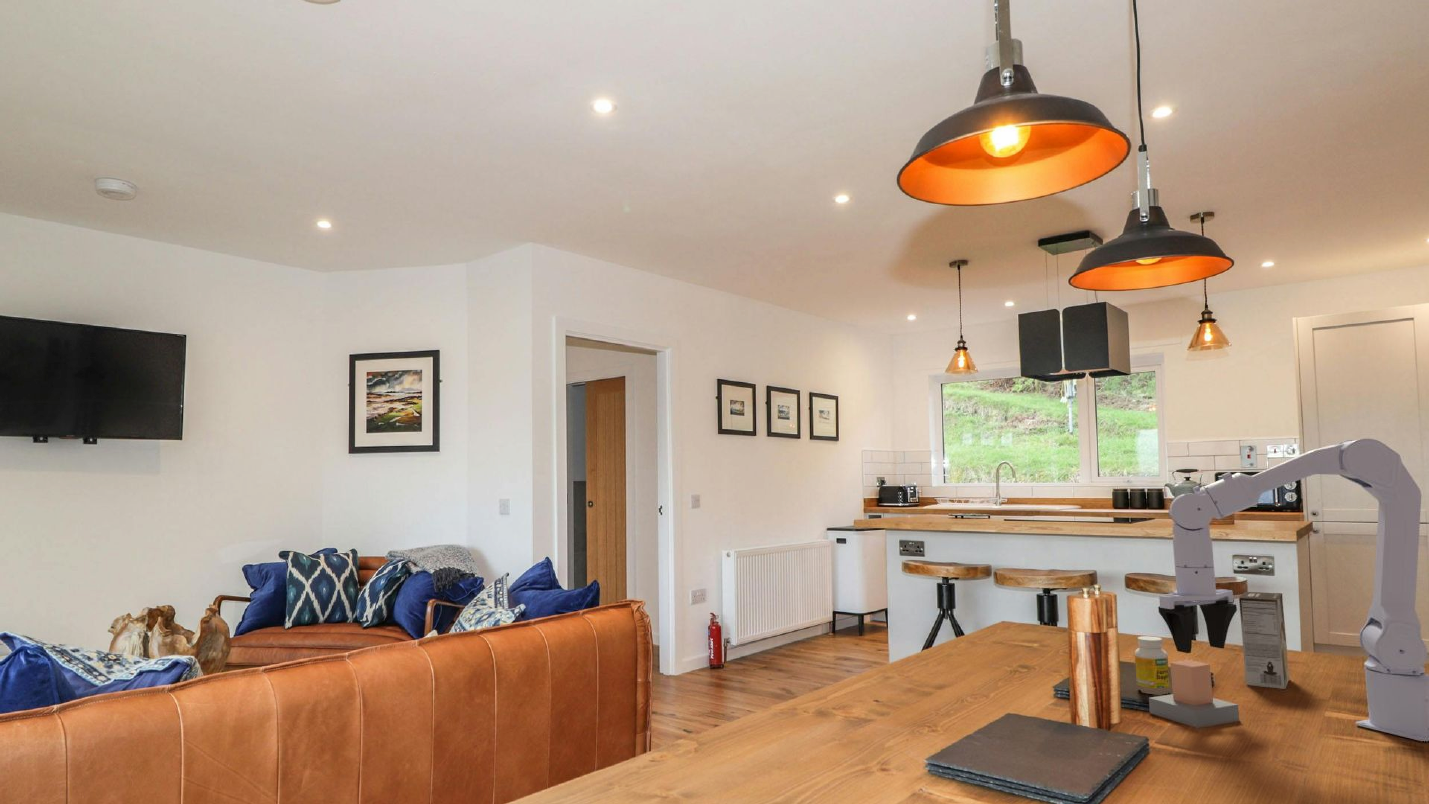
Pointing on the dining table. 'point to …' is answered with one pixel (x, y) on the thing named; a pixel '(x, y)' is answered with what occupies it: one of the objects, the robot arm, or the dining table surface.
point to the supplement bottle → (1151, 663)
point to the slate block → (1194, 711)
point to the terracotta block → (1191, 682)
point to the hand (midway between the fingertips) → (1200, 649)
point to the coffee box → (1264, 639)
